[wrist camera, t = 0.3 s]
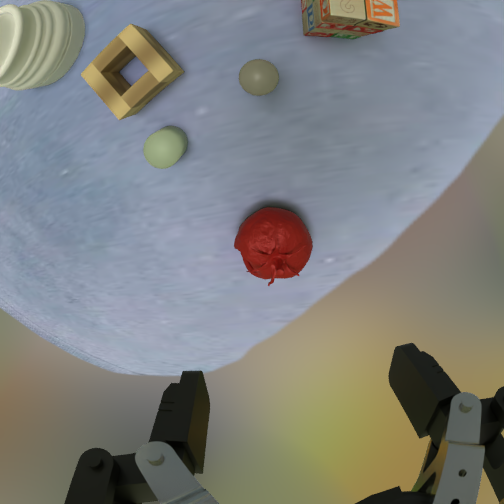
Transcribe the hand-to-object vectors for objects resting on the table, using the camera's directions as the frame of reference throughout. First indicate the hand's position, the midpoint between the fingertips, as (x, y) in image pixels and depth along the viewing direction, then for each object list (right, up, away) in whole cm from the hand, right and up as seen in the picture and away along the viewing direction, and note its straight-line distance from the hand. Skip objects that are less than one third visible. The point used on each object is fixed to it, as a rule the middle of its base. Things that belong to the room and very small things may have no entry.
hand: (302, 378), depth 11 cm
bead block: (-15, +27, +17) cm, 35 cm away
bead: (-12, +19, +22) cm, 31 cm away
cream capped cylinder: (-2, +25, +18) cm, 31 cm away
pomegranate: (+1, +8, +30) cm, 31 cm away
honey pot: (-30, +34, +12) cm, 47 cm away
